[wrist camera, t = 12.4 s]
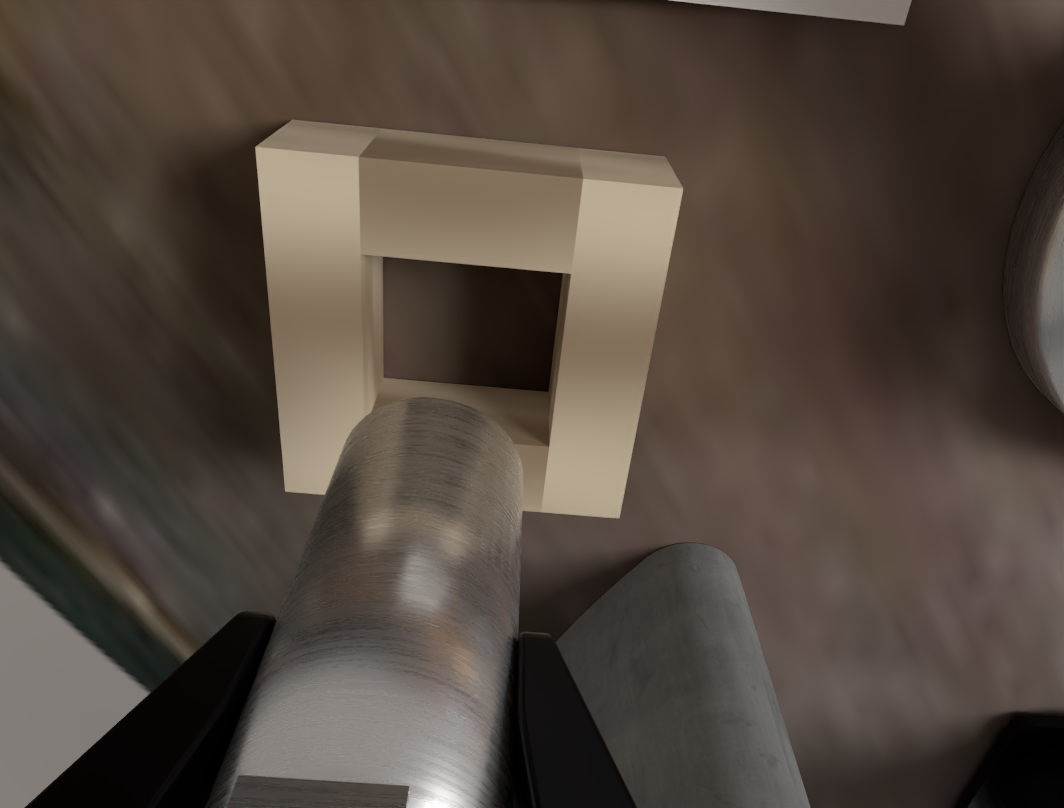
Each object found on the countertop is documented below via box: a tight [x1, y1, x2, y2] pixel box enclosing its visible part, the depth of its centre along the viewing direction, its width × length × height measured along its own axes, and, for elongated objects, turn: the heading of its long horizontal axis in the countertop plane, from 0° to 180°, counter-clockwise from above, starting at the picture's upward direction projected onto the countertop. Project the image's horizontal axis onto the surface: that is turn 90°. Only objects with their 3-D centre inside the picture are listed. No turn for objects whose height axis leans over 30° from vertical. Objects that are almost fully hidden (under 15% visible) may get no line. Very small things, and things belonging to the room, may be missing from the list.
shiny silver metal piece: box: [205, 397, 523, 808], centre depth 9 cm, size 5×3×8 cm, turn 175°
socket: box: [255, 120, 683, 518], centre depth 18 cm, size 8×8×2 cm
